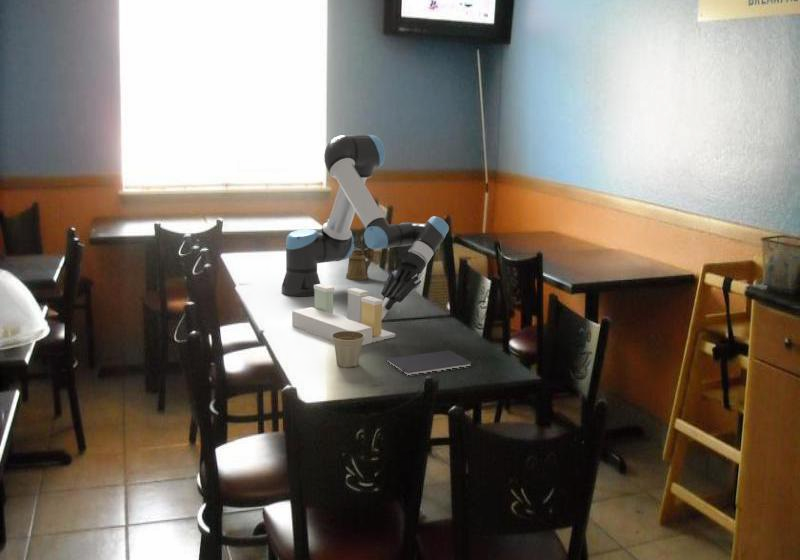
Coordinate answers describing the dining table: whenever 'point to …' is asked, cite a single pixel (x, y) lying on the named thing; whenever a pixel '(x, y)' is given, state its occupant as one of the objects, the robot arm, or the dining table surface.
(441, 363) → the notebook
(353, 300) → the grey tall block
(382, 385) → the dining table surface
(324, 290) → the pale green tall block
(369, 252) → the wooden mug
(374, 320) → the yellow tall block
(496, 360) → the dining table surface
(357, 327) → the keypad base
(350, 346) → the flower pot
